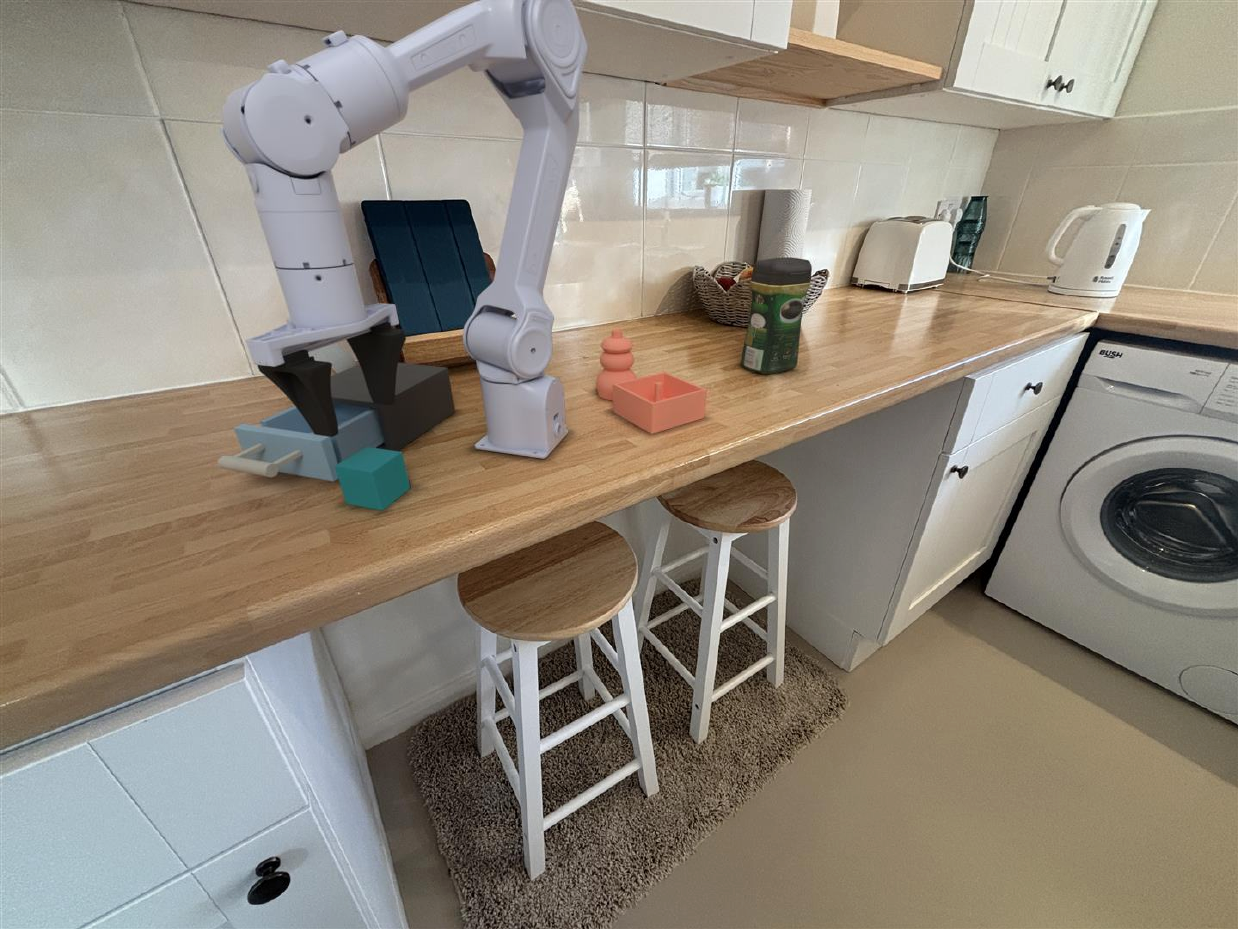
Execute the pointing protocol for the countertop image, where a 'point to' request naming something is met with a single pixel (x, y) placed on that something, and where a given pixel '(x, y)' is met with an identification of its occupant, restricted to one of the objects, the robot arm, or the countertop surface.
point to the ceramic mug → (334, 357)
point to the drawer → (303, 443)
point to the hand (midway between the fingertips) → (357, 417)
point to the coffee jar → (776, 314)
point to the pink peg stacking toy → (646, 390)
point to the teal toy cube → (373, 478)
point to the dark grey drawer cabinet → (400, 401)
